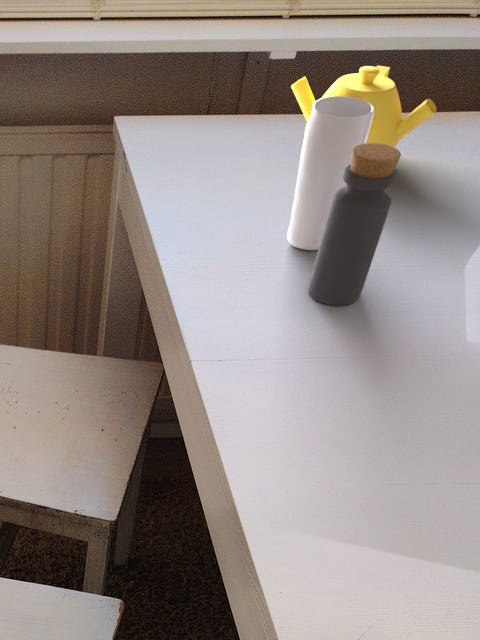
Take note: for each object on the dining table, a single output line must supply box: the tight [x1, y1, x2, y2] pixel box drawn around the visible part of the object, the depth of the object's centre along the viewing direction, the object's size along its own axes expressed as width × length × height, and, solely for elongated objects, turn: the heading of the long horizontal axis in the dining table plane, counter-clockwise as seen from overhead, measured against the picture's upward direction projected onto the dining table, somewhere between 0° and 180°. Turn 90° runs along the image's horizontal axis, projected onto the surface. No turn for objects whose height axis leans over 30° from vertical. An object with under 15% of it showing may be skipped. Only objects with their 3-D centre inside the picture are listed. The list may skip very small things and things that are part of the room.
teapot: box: [290, 65, 437, 148], centre depth 114 cm, size 20×18×11 cm
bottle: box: [307, 143, 402, 307], centre depth 89 cm, size 6×6×15 cm
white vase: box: [286, 96, 374, 251], centre depth 97 cm, size 7×7×15 cm
